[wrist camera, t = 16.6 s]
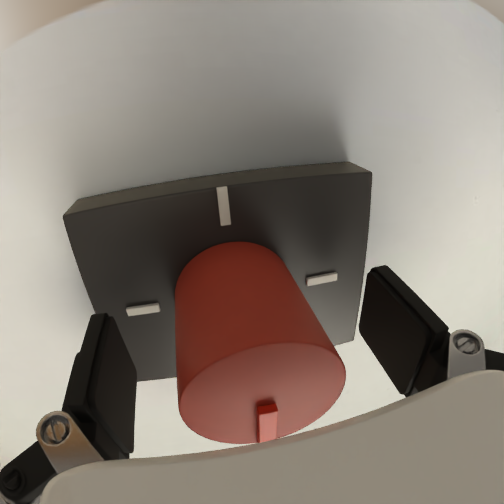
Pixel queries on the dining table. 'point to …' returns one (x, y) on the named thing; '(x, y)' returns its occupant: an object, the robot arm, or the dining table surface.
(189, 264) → the red cylindrical knob
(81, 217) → the dark square slab
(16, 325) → the dining table surface
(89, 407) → the robot arm
